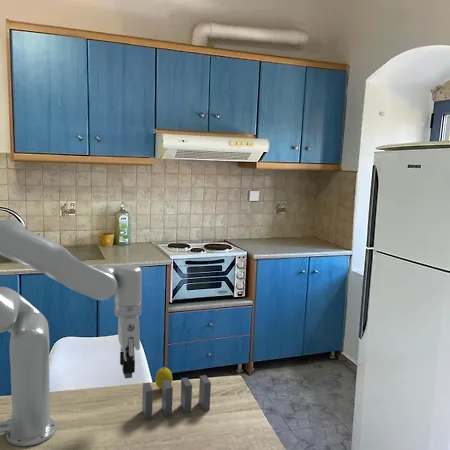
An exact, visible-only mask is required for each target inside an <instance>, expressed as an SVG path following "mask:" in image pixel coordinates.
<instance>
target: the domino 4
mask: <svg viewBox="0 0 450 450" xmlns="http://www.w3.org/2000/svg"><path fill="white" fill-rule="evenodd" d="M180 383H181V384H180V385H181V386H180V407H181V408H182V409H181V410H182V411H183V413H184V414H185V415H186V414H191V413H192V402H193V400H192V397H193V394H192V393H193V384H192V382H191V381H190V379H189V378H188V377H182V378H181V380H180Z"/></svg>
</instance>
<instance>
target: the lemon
mask: <svg viewBox="0 0 450 450" xmlns="http://www.w3.org/2000/svg"><path fill="white" fill-rule="evenodd" d="M164 380H169V381H170V383H171V384H172V383H173V374H172V371H171V370H170V369H169V368H168V367H165V366H163V367H160V368H159V369H158V370H157V372H156V374H155V384H156V386H157V388H159V389H160V390H162V381H164Z"/></svg>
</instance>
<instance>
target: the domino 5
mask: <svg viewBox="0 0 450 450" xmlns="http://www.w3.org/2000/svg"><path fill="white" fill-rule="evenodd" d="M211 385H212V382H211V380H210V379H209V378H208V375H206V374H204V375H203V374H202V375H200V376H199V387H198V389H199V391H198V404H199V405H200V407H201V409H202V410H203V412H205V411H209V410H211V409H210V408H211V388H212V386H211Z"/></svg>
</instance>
